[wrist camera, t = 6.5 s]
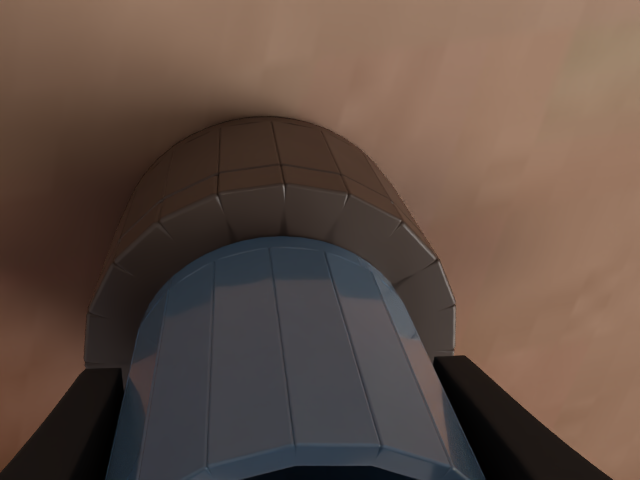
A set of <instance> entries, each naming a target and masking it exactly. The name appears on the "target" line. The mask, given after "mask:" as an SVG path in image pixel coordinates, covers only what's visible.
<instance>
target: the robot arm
mask: <svg viewBox="0 0 640 480" xmlns="http://www.w3.org/2000/svg"><path fill="white" fill-rule="evenodd" d="M433 367H434V369H435V371H436V373H437V375H438V378H439V380H440V382H441V384H442V386H443V388H444V390H445V393H446V395H447V397H448V399H449V401H450V403H451V405H452V408H453V410H454V412H455V414H456V416H457V418H458V420H459V423H460V425H461V427H462V429H463V431H464V433H465V436H466V438H467V440H468V442H469V444H470V446H471V448H472V451H473V453H474V455H475V457H476V459H477V461H478V463H479V466H480V468H481V470H482V472H483V474H484V476H485V478H486V480H613V479H612V478H610V477H609V476H607V475H606V474H605V473H603V472H602V471H601V470H599V469H598V468H597V467H595V466H594V465H593V464H591V463H590V462H589V461H588V460H586V459H585V458H584V457H582V456H581V455H580V454H579V453H577V452H576V451H575V450H573V449H572V448H571V447H570V446H568V445H567V444H566V443H565V442H563V441H562V440H561V439H560V438H559V437H557V436H556V435H555V434H554V433H552V432H551V431H550V430H549V429H548V428H546V427H545V426H544V425H543V424H542V423H541V422H539V421H538V420H537V419H536V418H535V417H534V416H532V415H531V414H530V413H529V412H528V411H527V410H526V409H524V408H523V407H522V406H521V405H520V404H519V403H518V402H516V401H515V400H514V399H513V398H512V397H511V396H510V395H509V394H508V393H506V392H505V391H504V390H503V389H502V388H501V387H500V386H499V385H498V384H496V383H495V382H494V381H493V380H492V379H491V378H490V377H489V376H488V375H487V374H485V373H484V372H483V371H482V370H481V369H480V368H479V367H478V366H476V365H475V364H474V363H473V362H472V361H471V360H470V359H468V358H467V357H466V356H465V355H463V356H435V357H434V362H433ZM123 392H124V388H123V379H122V370H121V368H96V369H85V370H84V371H83V372H82V373H81V374H80V375H79V376H78V377H77V379H76V380H75V381H74V383H73V384H72V385H71V387H70V388H69V389H68V391H67V392H66V393H65V395H64V396H63V397H62V399H61V400H60V401H59V403H58V404H57V405H56V407H55V408H54V409H53V410H52V412H51V413H50V414H49V415H48V417H47V418H46V419H45V421H44V422H43V423H42V424H41V426H40V427H39V428H38V429H37V430H36V432H35V433H34V434H33V435H32V436H31V438H30V439H29V440H28V441H27V442H26V444H25V445H24V446H23V447H22V448H21V450H20V451H19V452H18V453H17V454H16V456H15V457H14V458H13V459H12V460H11V461H10V462H9V464H8V465H7V466H6V467H5V468H4V469H3V470H2V471H1V473H0V480H104V476H105V471H106V467H107V463H108V458H109V454H110V450H111V445H112V441H113V437H114V432H115V428H116V423H117V419H118V414H119V410H120V406H121V401H122V397H123Z"/></svg>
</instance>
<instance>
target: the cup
mask: <svg viewBox="0 0 640 480" xmlns="http://www.w3.org/2000/svg"><path fill="white" fill-rule="evenodd" d="M104 480H486V478H485V476H484V474H483V472H482V470H481V468H480V466H479V463H478V461H477V459H476V457H475V455H474V453H473V451H472V448H471V446H470V444H469V442H468V440H467V438H466V436H465V433H464V431H463V429H462V427H461V425H460V423H459V420H458V418H457V416H456V414H455V412H454V410H453V408H452V405H451V403H450V401H449V399H448V397H447V395H446V393H445V390H444V388H443V386H442V384H441V382H440V380H439V378H438V375H437V373H436V371H435V369H434V367H433V365H432V363H431V360H430V358H429V356H428V354H427V352H426V350H425V348H424V345H423V343H422V341H421V339H420V337H419V335H418V333H417V330H416V328H415V326H414V324H413V322H412V320H411V318H410V315H409V313H408V311H407V309H406V307H405V305H404V303H403V302H402V300H401V299H400V297H399V295H398V294H397V292H396V291H395V289H394V288H393V286H392V285H391V283H390V282H389V281H388V280H387V279H386V278H385V277H384V275H383V274H382V273H381V272H379V271H378V270H377V269H376V268H375V267H374V266H372V265H371V264H370V263H369V262H367V261H366V260H364V259H362V258H361V257H359V256H358V255H356V254H354V253H352V252H350V251H348V250H346V249H343V248H341V247H339V246H336V245H333V244H330V243H326V242H323V241H320V240H315V239H309V238H303V237H290V236H273V237H260V238H254V239H249V240H243V241H239V242H236V243H233V244H229V245H226V246H223V247H220V248H218V249H216V250H214V251H211V252H209V253H207V254H205V255H203V256H201V257H199V258H198V259H196V260H194V261H193V262H191V263H189V264H188V265H186V266H185V267H184V268H183V269H181V270H180V271H179V272H177V273H176V274H175V275H174V276H172V277H171V278H170V279H169V280H168V282H167V283H166V284H165V285H164V286H163V287H162V288H161V289H160V290H159V291H158V293H157V294H156V295H155V297H154V298H153V299H152V301H151V302H150V304H149V306H148V308H147V309H146V311H145V313H144V315H143V317H142V320H141V323H140V326H139V329H138V332H137V335H136V340H135V344H134V349H133V353H132V357H131V361H130V365H129V369H128V374H127V378H126V383H125V387H124V392H123V397H122V401H121V406H120V410H119V414H118V419H117V423H116V428H115V432H114V437H113V441H112V445H111V450H110V454H109V458H108V463H107V467H106V471H105V476H104Z"/></svg>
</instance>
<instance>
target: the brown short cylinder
mask: <svg viewBox="0 0 640 480" xmlns="http://www.w3.org/2000/svg"><path fill="white" fill-rule="evenodd" d="M273 236H290V237H303V238H309V239H315V240H320V241H323V242H326V243H330V244H333V245H336V246H339V247H341V248H343V249H346V250H348V251H350V252H352V253H354V254H356V255H358V256H359V257H361V258H362V259H364V260H366V261H367V262H369V263H370V264H371V265H372V266H374V267H375V268H376V269H377V270H378V271H379V272H381V273H382V274H383V275H384V277H385V278H386V279H387V280H388V281H389V282H390V283H391V285H392V286H393V288H394V289H395V291H396V292H397V294H398V295H399V297H400V299H401V300H402V302H403V303H404V305H405V307H406V309H407V311H408V313H409V315H410V318H411V320H412V322H413V324H414V326H415V328H416V330H417V333H418V335H419V337H420V339H421V341H422V343H423V345H424V348H425V350H426V352H427V354H428V356H429V358H430V360H431V363H432V365H433V362H434V357H435V356H453V355H454V348H455V330H456V305H455V298H454V295H453V293H452V290H451V288H450V285H449V282H448V280H447V277H446V275H445V272H444V269H443V267H442V264H441V262H440V260H439V258H438V257H437V255H436V253H435V252H434V250H433V249H432V247H431V246H430V244H429V242H428V241H427V240H426V237H425V236H424V234H423V233H422V231H421V230H420V228H419V226H418V225H417V223H416V222H415V220H414V219H413V217H412V215H411V214H410V212H409V211H408V209H407V208H406V206H405V204H404V203H403V201H402V200H401V198H400V197H399V195H398V193H397V192H396V190H395V189H394V187H393V186H392V184H391V183H390V182H389V181H388V179H387V178H386V177H385V176H384V175H383V173H382V172H381V171H380V170H379V168H378V167H377V166H376V164H375V163H374V162H373V161H372V160H371V159H370V158H369V157H368V156H367V155H366V154H365V153H364V152H363V151H362V150H360V149H359V148H358V147H356V146H355V145H353V144H352V143H351V142H349V141H348V140H346V139H345V138H343V137H341V136H339V135H337V134H335V133H333V132H332V131H330V130H327V129H325V128H322V127H319V126H317V125H314V124H311V123H307V122H303V121H298V120H294V119H288V118H276V117H255V118H245V119H239V120H233V121H228V122H224V123H221V124H218V125H215V126H211V127H208V128H206V129H204V130H202V131H200V132H197V133H195V134H193V135H191V136H189V137H187V138H186V139H184V140H183V141H181V142H179V143H178V144H176V145H175V146H173V147H172V148H171V149H170V150H168V151H167V152H166V153H165V154H164V155H162V156H161V157H160V158H159V159H158V160H157V161H156V162H155V163H154V164H153V165H152V166H151V168H150V169H149V170H148V171H147V172H146V173H145V174H144V176H143V177H142V179H141V180H140V182H139V183H138V185H137V186H136V188H135V190H134V192H133V194H132V196H131V198H130V200H129V202H128V205H127V207H126V210H125V212H124V214H123V216H122V218H121V220H120V222H119V225H118V227H117V230H116V233H115V236H114V238H113V241H112V244H111V246H110V249H109V252H108V255H107V257H106V260H105V263H104V266H103V268H102V271H101V274H100V276H99V279H98V282H97V285H96V288H95V291H94V293H93V296H92V299H91V302H90V304H89V307H88V311H87V314H86V329H85V345H84V361H85V367H86V369H96V368H121V370H122V379H123V388H124V387H125V383H126V378H127V374H128V369H129V365H130V361H131V357H132V353H133V349H134V344H135V340H136V335H137V332H138V329H139V326H140V323H141V320H142V317H143V315H144V313H145V311H146V309H147V308H148V306H149V304H150V302H151V301H152V299H153V298H154V297H155V295H156V294H157V293H158V291H159V290H160V289H161V288H162V287H163V286H164V285H165V284H166V283H167V282H168V280H169V279H170V278H171V277H172V276H174V275H175V274H176V273H177V272H179V271H180V270H181V269H183V268H184V267H185V266H186V265H188V264H189V263H191V262H193V261H194V260H196V259H198V258H199V257H201V256H203V255H205V254H207V253H209V252H211V251H214V250H216V249H218V248H220V247H223V246H226V245H229V244H233V243H236V242H239V241H243V240H249V239H254V238H260V237H273Z"/></svg>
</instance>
